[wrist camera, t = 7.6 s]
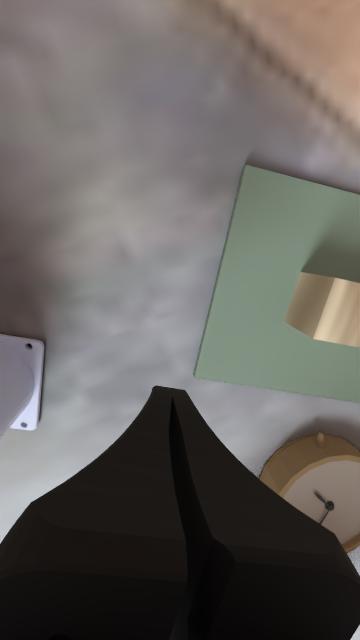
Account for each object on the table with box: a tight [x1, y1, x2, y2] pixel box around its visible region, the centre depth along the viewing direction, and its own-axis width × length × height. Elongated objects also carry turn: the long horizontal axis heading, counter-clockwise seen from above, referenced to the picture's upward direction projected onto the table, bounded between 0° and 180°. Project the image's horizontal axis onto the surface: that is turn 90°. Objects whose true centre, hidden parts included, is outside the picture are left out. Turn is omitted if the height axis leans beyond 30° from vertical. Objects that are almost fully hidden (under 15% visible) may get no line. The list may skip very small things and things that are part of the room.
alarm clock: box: [260, 432, 360, 553], centre depth 25 cm, size 11×5×15 cm
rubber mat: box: [193, 165, 360, 403], centre depth 21 cm, size 20×16×1 cm
